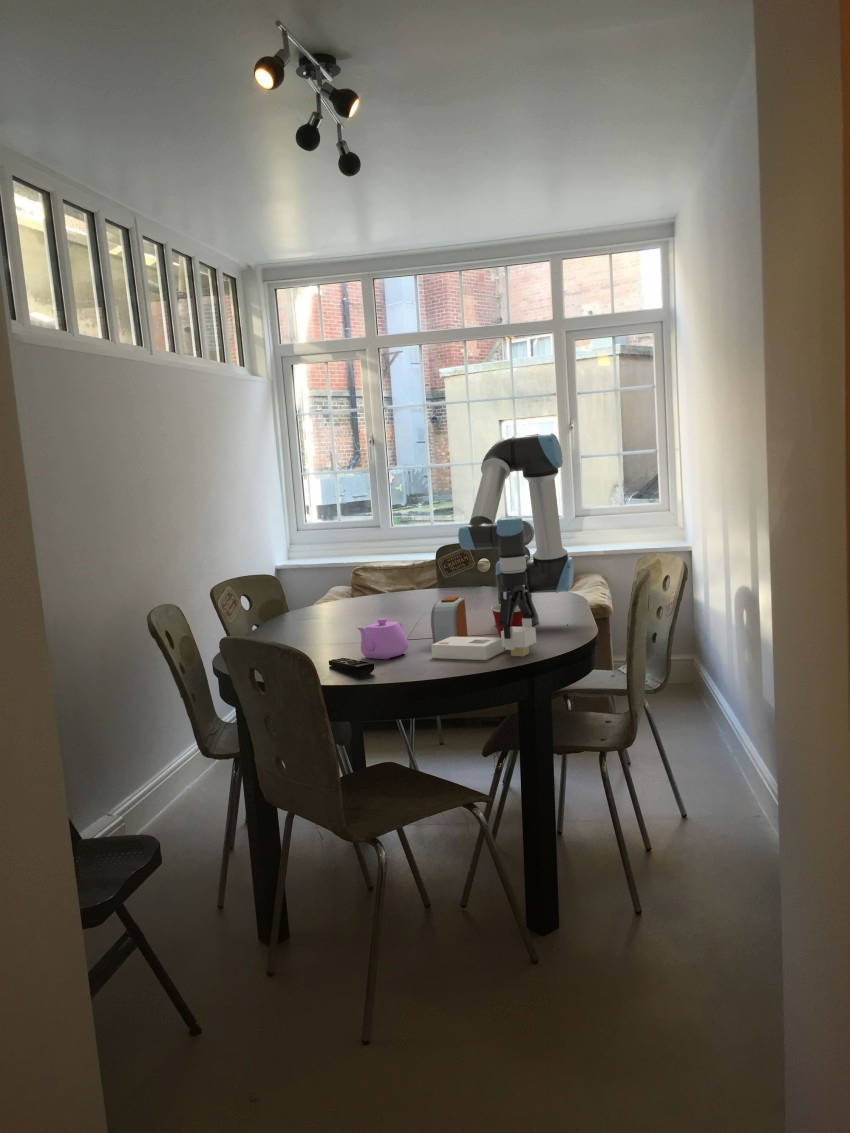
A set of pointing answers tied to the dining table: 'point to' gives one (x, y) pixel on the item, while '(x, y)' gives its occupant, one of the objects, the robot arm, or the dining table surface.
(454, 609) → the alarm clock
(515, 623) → the plastic cup
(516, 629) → the plug
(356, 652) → the dining table surface
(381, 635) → the teapot
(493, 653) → the socket
